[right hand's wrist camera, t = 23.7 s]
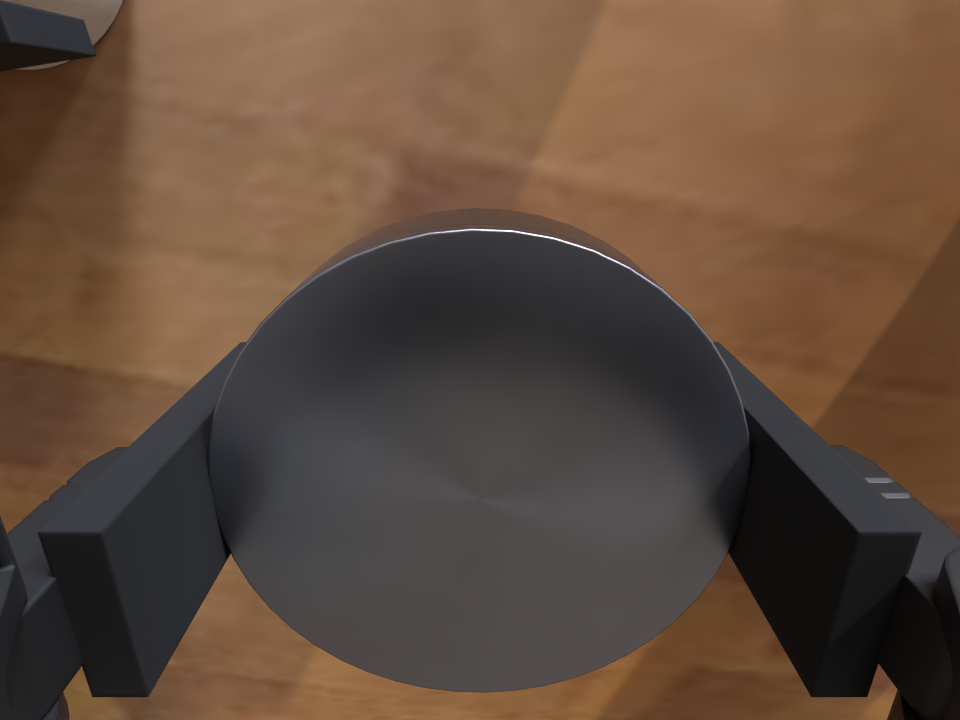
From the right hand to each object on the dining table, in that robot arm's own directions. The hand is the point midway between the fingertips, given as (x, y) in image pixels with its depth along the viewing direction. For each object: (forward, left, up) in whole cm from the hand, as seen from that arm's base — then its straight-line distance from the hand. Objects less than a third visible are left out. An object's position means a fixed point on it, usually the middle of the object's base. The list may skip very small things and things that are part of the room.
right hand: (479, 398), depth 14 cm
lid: (0, 0, +4) cm, 4 cm away
